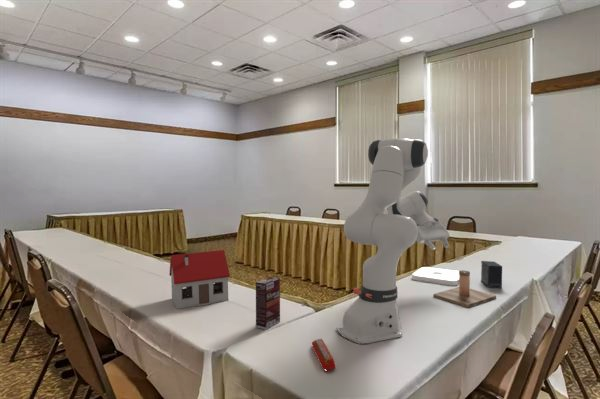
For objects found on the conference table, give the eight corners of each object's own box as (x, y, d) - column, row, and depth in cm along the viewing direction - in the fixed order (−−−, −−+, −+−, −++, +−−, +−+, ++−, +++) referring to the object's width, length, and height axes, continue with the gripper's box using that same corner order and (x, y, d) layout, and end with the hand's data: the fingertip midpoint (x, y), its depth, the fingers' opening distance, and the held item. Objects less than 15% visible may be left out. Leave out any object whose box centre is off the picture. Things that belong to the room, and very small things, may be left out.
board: (468, 307, 133) (468, 304, 133) (433, 296, 147) (433, 294, 147) (496, 298, 144) (496, 295, 144) (461, 288, 157) (461, 286, 157)
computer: (422, 271, 192) (422, 266, 192) (465, 276, 180) (465, 271, 179) (410, 280, 175) (410, 275, 175) (456, 287, 162) (456, 281, 162)
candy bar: (310, 346, 104) (310, 337, 104) (322, 345, 104) (322, 335, 104) (323, 375, 88) (323, 363, 88) (337, 373, 89) (337, 362, 88)
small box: (503, 288, 158) (503, 265, 157) (487, 287, 159) (487, 265, 159) (494, 282, 168) (495, 261, 168) (480, 281, 169) (480, 260, 169)
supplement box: (266, 330, 115) (265, 284, 114) (255, 327, 118) (254, 282, 117) (281, 321, 122) (280, 278, 122) (270, 319, 125) (269, 276, 124)
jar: (466, 296, 142) (466, 273, 142) (456, 294, 146) (456, 271, 146) (471, 295, 145) (471, 271, 144) (462, 292, 148) (462, 269, 148)
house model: (226, 290, 161) (225, 247, 161) (231, 303, 142) (230, 254, 142) (170, 296, 154) (169, 250, 153) (167, 311, 135) (165, 259, 134)
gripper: (412, 221, 154) (430, 245, 146) (441, 219, 165) (459, 241, 157) (404, 229, 158) (421, 254, 150) (433, 227, 169) (450, 249, 161)
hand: (441, 247), depth 154 cm, fingers open, 8 cm apart
